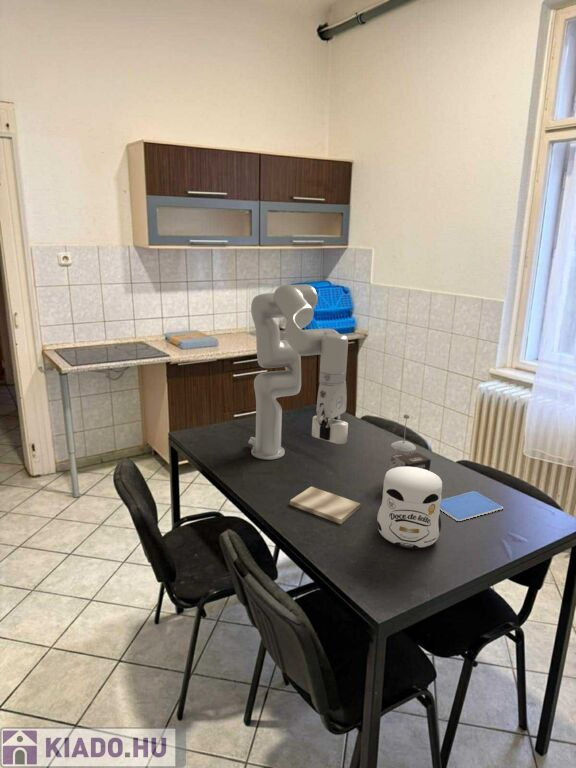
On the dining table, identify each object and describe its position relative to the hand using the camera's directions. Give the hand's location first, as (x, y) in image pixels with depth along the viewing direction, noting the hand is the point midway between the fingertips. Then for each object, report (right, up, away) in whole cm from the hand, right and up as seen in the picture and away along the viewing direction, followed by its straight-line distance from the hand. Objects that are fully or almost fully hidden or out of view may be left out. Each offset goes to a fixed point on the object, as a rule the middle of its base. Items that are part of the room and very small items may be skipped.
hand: (329, 435), depth 159 cm
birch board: (-1, -22, +6) cm, 23 cm away
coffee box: (+25, -23, +9) cm, 35 cm away
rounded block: (0, -1, 0) cm, 1 cm away
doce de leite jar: (+21, -28, -8) cm, 36 cm away
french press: (+26, -18, +24) cm, 40 cm away
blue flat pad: (+44, -24, +10) cm, 51 cm away
